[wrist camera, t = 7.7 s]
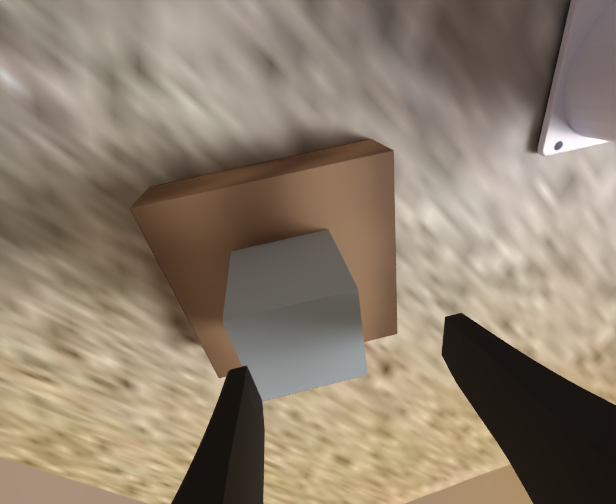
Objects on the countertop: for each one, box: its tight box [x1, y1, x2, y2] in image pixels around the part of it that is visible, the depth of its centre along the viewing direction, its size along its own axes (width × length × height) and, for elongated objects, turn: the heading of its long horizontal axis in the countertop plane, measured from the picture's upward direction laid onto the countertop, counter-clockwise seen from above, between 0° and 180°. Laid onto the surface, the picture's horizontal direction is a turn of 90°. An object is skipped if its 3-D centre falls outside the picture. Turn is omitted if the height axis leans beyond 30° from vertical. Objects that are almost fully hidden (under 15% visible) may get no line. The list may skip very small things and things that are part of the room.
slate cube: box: [222, 229, 367, 402], centre depth 14 cm, size 5×5×5 cm
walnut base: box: [130, 139, 397, 378], centre depth 18 cm, size 12×12×3 cm
